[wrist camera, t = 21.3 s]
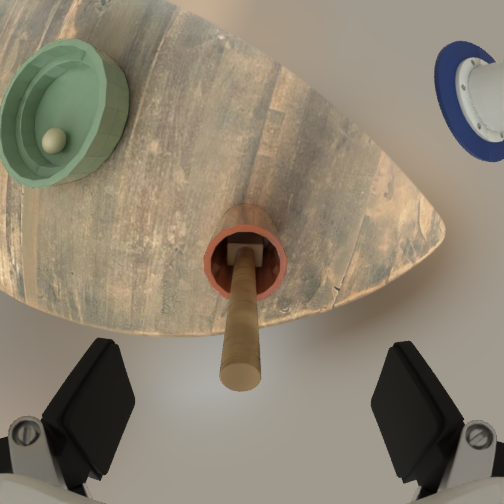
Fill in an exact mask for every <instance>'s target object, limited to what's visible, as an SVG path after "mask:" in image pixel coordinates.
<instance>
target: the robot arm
mask: <svg viewBox="0 0 504 504" xmlns="http://www.w3.org/2000/svg"><path fill="white" fill-rule="evenodd" d="M455 85H456V93H457V98H458V101H459V104H460V107H461V110H462V112H463V114H464V116H465V118H466V120H467V122H468V123H469V125H470V126H471V128H472V129H473V130H474V131H475V133H476V134H477V135H478V136H480V137H481V138H482V139H484V140H486V141H489V142H501V141H503V140H504V60H503V61H499V62H495V63H491V64H488V63H487V62H485V61H484V60H482V59H479V58H474V57H472V58H468V59H465V60H463V61H462V62H461V63H460V64H459V66H458V68H457V71H456V77H455ZM134 405H135V397H134V393H133V391H132V387H131V384H130V381H129V378H128V376H127V372H126V369H125V366H124V362H123V359H122V356H121V352H120V349H119V346H118V345H117V344H115V342H114V341H113V340H112V339H105V338H97V339H96V340H95V341H94V342H93V343H92V345H91V346H90V347H89V349H88V350H87V352H86V353H85V354H84V355H83V357H82V358H81V360H80V361H79V362H78V364H77V365H76V366H75V368H74V369H73V370H72V372H71V373H70V375H69V376H68V377H67V379H66V380H65V382H64V383H63V385H62V386H61V387H60V389H59V390H58V392H57V393H56V395H55V396H54V398H53V399H52V401H51V402H50V403H49V405H48V406H47V408H46V410H45V411H44V413H43V414H42V417H43V418H42V419H41V421H40V420H39V419H37V418H35V417H32V416H23V417H20V418H18V419H17V420H15V421H14V422H13V423H12V424H11V425H10V428H9V430H8V437H4V438H1V439H0V504H105V503H102V502H98V501H96V500H93V498H92V496H91V494H90V492H89V490H88V487H87V485H86V480H87V478H88V477H90V478H93V479H96V480H99V481H100V480H101V478H102V476H103V475H106V474H107V473H108V470H109V468H110V465H111V463H112V460H113V458H114V455H115V452H116V450H117V447H118V445H119V442H120V440H121V437H122V434H123V432H124V430H125V427H126V424H127V422H128V420H129V418H130V415H131V413H132V410H133V408H134ZM371 408H372V411H373V413H374V416H375V418H376V421H377V423H378V426H379V428H380V431H381V434H382V436H383V439H384V442H385V444H386V447H387V450H388V452H389V455H390V458H391V461H392V463H393V466H394V469H395V472H396V474H397V476H398V477H399V478H402V480H403V483H408V482H410V481H413V480H417V482H418V488H417V490H416V492H415V494H414V496H413V498H412V501H411V502H410V503H407V504H504V443H502V442H498V441H497V435H496V432H495V430H494V429H493V427H492V426H491V425H490V424H488V423H487V422H484V421H481V420H474V421H470V422H468V423H467V424H466V425H465V424H464V422H463V420H464V418H463V417H462V415H461V413H460V412H459V410H458V408H457V407H456V405H455V404H454V402H453V401H452V399H451V398H450V396H449V395H448V393H447V392H446V390H445V389H444V388H443V386H442V384H441V383H440V382H439V380H438V378H437V377H436V375H435V374H434V373H433V372H432V370H431V368H430V367H429V366H428V364H427V363H426V361H425V360H424V358H423V357H422V356H421V354H420V353H419V351H418V350H417V349H416V347H415V346H414V345H413V343H412V342H411V341H404V342H396V343H394V345H393V347H391V348H389V350H388V354H387V357H386V360H385V363H384V366H383V369H382V372H381V374H380V377H379V380H378V383H377V386H376V388H375V391H374V394H373V396H372V399H371Z"/></svg>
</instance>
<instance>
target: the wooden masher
mask: <svg viewBox="0 0 504 504" xmlns="http://www.w3.org/2000/svg"><path fill="white" fill-rule="evenodd" d="M262 257H263V240H262V235H259V234H257V233H254V232H236V233H234V234H231V235H230V236H229V240H228V247H227V265H234V268H233V276H232V283H231V290H230V298H229V305H228V313H227V320H226V328H225V335H224V344H223V351H222V359H221V367H220V380H221V382H222V384H223V385H224V386H225V387H227V388H229V389H231V390H234V391H248V390H251V389H253V388H255V387H256V386H257V385H258V384H259V382H260V380H261V365H260V347H259V328H258V310H257V293H256V275H255V267H262Z"/></svg>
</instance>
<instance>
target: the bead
mask: <svg viewBox="0 0 504 504" xmlns="http://www.w3.org/2000/svg"><path fill="white" fill-rule="evenodd" d="M65 144H66V135H65V133H64V131H63V130H62V129H60V128H52V129H49V130H48V131H47V132H46V133H45V134H44V136H43V139H42V147H43V149H44V151H45V152H47V153H48V154H56V153H58V152H60V151H61V150H62V149H63V148H64V146H65Z"/></svg>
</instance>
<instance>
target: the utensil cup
mask: <svg viewBox="0 0 504 504" xmlns="http://www.w3.org/2000/svg"><path fill="white" fill-rule="evenodd" d="M236 232H254V233H257V234H259V235H262V240H263V257H262V267H255V275H256V293H257V301H258V300H261V299H264V298H267V297H268V296H270V295H271V294H272V293H273V292H274V291H275V290H277V289H278V288H279V287H280V285H281V283H282V281H283V279H284V277H285V275H286V271H287V256H286V253H285V251H284V248H283V246H282V243H281V240H280V238H279V235H278V233H277V230H276V228H275V225H274V223H273V220H272V218H271V216H270V215H269V214H268V213H267V212H266V211H265V210H264V209H262V208H261V207H259V206H257V205H253V204H240V205H236V206H234V207H232V208H231V209H229V210H228V211H227V212H226V213H225V214H224V215H223V216H222V218H221V220H220V222H219V224H218V226H217V228H216V230H215V232H214V234H213V236H212V238H211V240H210V243H209V245H208V247H207V250H206V253H205V255H204V272H205V275H206V277H207V279H208V281H209V283H210V285H211V286H212V288H214V289H215V290H216V291H217V292H218V293H219V294H220V295H221V296H223V297H225V298H227V299H229V298H230V290H231V283H232V276H233V268H234V265H227V247H228V240H229V236H230V235H231V234H234V233H236Z"/></svg>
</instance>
